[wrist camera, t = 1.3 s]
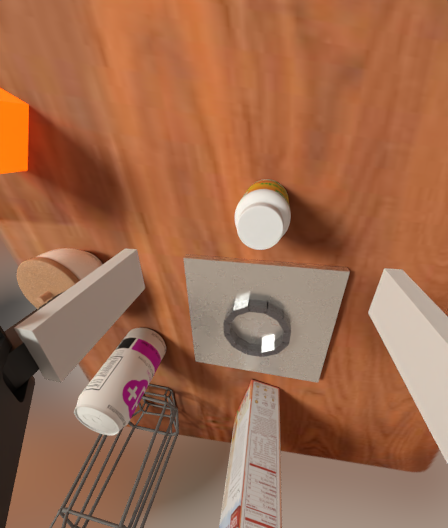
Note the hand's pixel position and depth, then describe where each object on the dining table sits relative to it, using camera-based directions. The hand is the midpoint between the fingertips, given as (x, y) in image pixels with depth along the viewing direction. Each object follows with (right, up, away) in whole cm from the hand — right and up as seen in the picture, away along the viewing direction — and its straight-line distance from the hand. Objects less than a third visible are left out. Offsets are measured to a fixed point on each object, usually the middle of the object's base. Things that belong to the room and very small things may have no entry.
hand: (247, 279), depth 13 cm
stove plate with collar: (+4, -8, +24) cm, 26 cm away
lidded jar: (-24, 0, +27) cm, 36 cm away
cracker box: (+6, -28, +35) cm, 45 cm away
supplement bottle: (+4, +8, +15) cm, 18 cm away
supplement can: (-16, -14, +33) cm, 39 cm away
